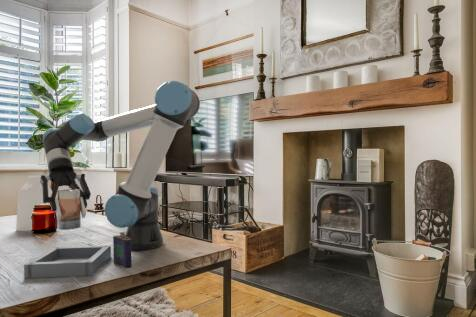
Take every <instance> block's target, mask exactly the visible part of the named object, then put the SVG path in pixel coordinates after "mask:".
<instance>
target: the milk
mask: <svg viewBox="0 0 476 317" xmlns="http://www.w3.org/2000/svg"><path fill="white" fill-rule="evenodd" d="M41 176H42V175H37V176H36V175H29V176H28V178H27V181H26V182H25V183H24V185H23V186H22V187H21V188H20V189H19V190H18V193H17V203H16V204H17V206H16V208H17V209H16V223H15V224H16V225H15V226H16V227H15V231H16V232H20V231H21V232H32V231H31V230H32V219H31V216H32V212H33V210H34V209H33V208H34V206H35V205H37V204H38V205H40V204H46V203H43V188H42V184H41V182H40V179H41ZM52 192H53V189H52V188H51V187H50V186H49V185H48V197H51V195H52Z"/></svg>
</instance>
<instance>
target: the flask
mask: <svg viewBox="0 0 476 317" xmlns="http://www.w3.org/2000/svg"><path fill="white" fill-rule="evenodd" d="M125 234H126V231H122V232H119V235H117V234H115V235H113V236H112V239H113V241H112V242H113V243H112V244H113V257H112V259H113V264H114V265H117V266H118V267H119V266H120V267H122V268H124V269H131V268H132V267H133V262H132V261H133V260H132V250H131V239H130V238H129V237H126V235H125Z"/></svg>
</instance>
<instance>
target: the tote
mask: <svg viewBox="0 0 476 317" xmlns="http://www.w3.org/2000/svg"><path fill="white" fill-rule="evenodd" d="M111 248H112V245H109V244H108V245H86V246H85V245H84V246H83V245H82V246H54V247H52V248H50V249H49V250H47V251H45V252H44V253H42V254H40V255H38V256H37V257H34V258H33V259H30V261H28V262H26V263H24V264H23V275H24V276H23V278H24V279H44V278H46V279H47V277H50V278H66V277H65V276H75V277H93V276H94V275H93V274H94V273H97V272H98V271H99V269H101V267H102V266H104V265H105V263H107V261H109V260H110V259H111V257H112V249H111ZM92 275H93V276H92Z"/></svg>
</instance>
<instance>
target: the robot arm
mask: <svg viewBox="0 0 476 317" xmlns="http://www.w3.org/2000/svg"><path fill="white" fill-rule="evenodd" d="M156 89H157V90H156V92H155V95H154V104H151V105H149V106H146V107H142V108H138V109H133V110H130V111H127V112H123V113H120V114H117V115H114V116H110V117H109V116H108V117H106V118H104V119H99V120H97V121H93V119H92V118H91V117H90V116H89V115H87V114H86V113H84V112H78V113H77V114H75V115H73V116H72V117H71V118H70V119H69V120H67V121H66V122H65V123H64V124H63V125H61V127H60V128H51V129H47V130H46V131H44V133H43V135H42V146H43V148H44V153H45V158H46V163H47V167H48V173H49V174H48V175H43V174H42V175H40V176H41V179H40V182H41V184H42V188H43V203H50V206H51V210H52V211H54V212H55V215H56V221H57V222H58V221H60V219H61V211H60V206H59V202H58V198H57V196H58V190H59V188H60V187H64V186H67V187H68V188H69V189H80V210H81V218H82V219H85V218H86V215H87V210H86V209H87V207H88V202H87V200H90V198H91V195H92V193H91V191H90V188H89V186H88V183H87V181H86V179H85V178H86V174H85V173H81V174H77V172H75V170H74V169H75V168H74V166H73V163H72V158H71V154H70V150H69V149H70V148H72V147H73V146H75V144H77V143H78V142H79V141H80V140H81V141H92V142H99V143H100V142H104V141H107V140H108V139H109V138H112V137H115V136H119V135H122V134H126V133H130V132H134V131H136V130H140V129H145V128H149V130H148V133H147V134H146V137H145V139H144V141H143V144H142V146H141V148H140V150H139V152H138V155H137V157H136V159H135V161H134V164H132V165H133V166H132V168H131V170H130V172H129V175H128V177H127V179H126V180H125V181H122V182H121V183H119V185H118V188H117V190H116V192H115V194H114V195H113V194H112V196H110V197H109V198H107V201H106V203H105V205H104V215H105V216H106V219H107V221H108V222H109V223H110V224H111V225H112V226H114V227H116V228H120V229H123V228H124V229H125V228H127V229H126V231H125V232H126V233H125V235H126V237H129V238H130V239H131V251H145V250H152V249H156V248H159V247H161V246H163V244H164V238H163V234H162V232H161V228H160V225H159V197H160V196H159V190H158V189H157V187H154V186H153V187H152V185H153V183H154V181H155V180H156V177H157V175H158V173H159V172H160V171H159V170H160V168H161V166H162V164H163V162H164V160H165V158H166V155H167V153H168V152H169V151H168V150H169V149H170V146H171V144H172V142H173V140H174V138H175V135H176V133H177V131H178V130H179V129H182V128H184V126H185V125H186V123H187V122H186V121H187V120H190V119H193V117H195V116H196V115H197V114H198V112H199V110H200V107H201V104H200V103H201V102H200V98H199V96H198V94H197V93H196V92H195V91H194V90H193V89H191V87H189V86H188V85H187V84H185V83H183V82H181V81H178V80H168V81H166V82H164V83H162V84H161V85H159V87H158V88H156ZM76 180H77V181H78V183H79V185H78V184H77V183H76V182H77V181H76ZM49 181H50V182H52V183H53V184H54V186H53V189H52V195H51V197H48V186H49V184H48V183H49Z"/></svg>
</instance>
